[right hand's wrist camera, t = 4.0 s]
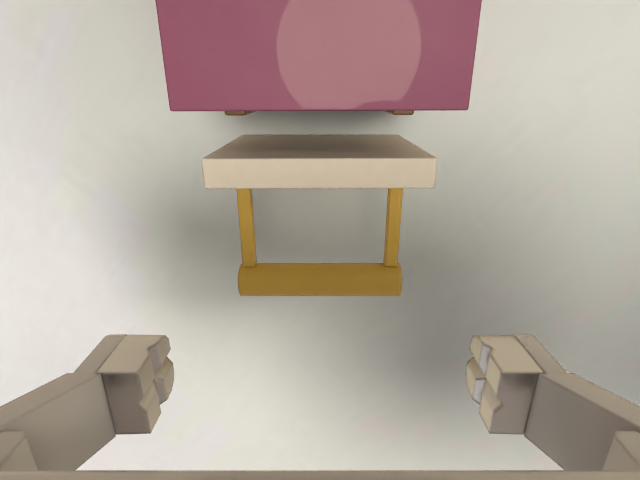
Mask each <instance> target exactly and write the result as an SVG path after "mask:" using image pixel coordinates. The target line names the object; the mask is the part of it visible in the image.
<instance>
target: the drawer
mask: <svg viewBox="0 0 640 480" xmlns="http://www.w3.org/2000/svg"><path fill="white" fill-rule="evenodd" d="M383 111H385V112H388V113H391V114H394V115H412V114H413V113H414V110H383ZM252 112H255V111H225V114H226V115H246V114H249V113H252ZM436 165H437V158H436V157H434V156H432V155H431V154H429V153H427V152H426V151H424V150H422V149H421V148H419V147H417V146H416V145H414V144H412V143H411V142H409V141H407V140H406V139H404V138H403V137H401V136H399V135H242V136H240V137H239V138H237V139H235V140H234V141H232V142H230V143H228V144H227V145H225V146H223V147H222V148H220V149H218V150H216V151H215V152H213V153H211V154H210V155H208V156H206V157H204V158H203V159H202V167H203V176H204V185H205V188H206V189H237V199H238V211H239V224H240V236H241V249H242V261H243V263H242V264H241V265H240V268H239V273H238V289H239V293H240V295H241V296H399V295H400V294H401V290H402V271H401V267H400V264H398V263H397V262H398V248H399V234H400V221H401V207H402V193H403V188H434V185H435V175H436ZM277 188H388V198H387V214H386V231H385V248H384V263H256V262H257V261H256V245H255V230H254V215H253V200H252V189H277Z"/></svg>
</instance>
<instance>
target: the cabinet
mask: <svg viewBox="0 0 640 480" xmlns="http://www.w3.org/2000/svg"><path fill="white" fill-rule="evenodd" d="M481 1H482V0H156V7H157V15H158V22H159V30H160V37H161V45H162V53H163V60H164V68H165V75H166V83H167V91H168V98H169V106H170V110H171V111H372V110H468V107H469V98H470V90H471V82H472V74H473V66H474V58H475V50H476V42H477V34H478V26H479V18H480V9H481Z"/></svg>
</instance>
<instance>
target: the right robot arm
mask: <svg viewBox="0 0 640 480" xmlns="http://www.w3.org/2000/svg"><path fill="white" fill-rule="evenodd" d="M170 349H171V348H170V343H169V338H168V337H166V336H165V335H126V334H121V335H108V336H105V337H104V339H103V340H102V341H101V342H100V343H99V344H98V345H97V347H96V348H95V349H94V350H93V351H92V352H91V353H90V354H89V356H88V357H87V358H86V359H85V360H84V361H83V362H82V364H81V365H80V366H79V367H78V368H77V369H76V370H75V372H74V373H67V374H65V375H63V376H61V377H59V378H57V379H55V380H53V381H51V382H49V383H47V384H45V385H43V386H41V387H39V388H37V389H35V390H33V391H31V392H29V393H27V394H25V395H23V396H21V397H19V398H17V399H15V400H13V401H11V402H9V403H7V404H5V405H3V406H1V407H0V480H640V407H639V406H637V405H635V404H633V403H631V402H629V401H627V400H625V399H623V398H621V397H619V396H617V395H615V394H613V393H611V392H609V391H607V390H605V389H603V388H601V387H599V386H597V385H595V384H593V383H591V382H589V381H587V380H585V379H583V378H581V377H579V376H577V375H575V374H573V373H566V372H565V370H564V369H563V368H562V367H561V366H560V365H559V364H558V362H557V361H556V360H555V359H554V358H553V357H552V356H551V355H550V353H549V352H548V351H547V350H546V349H545V348H544V347H543V345H542V344H541V343H540V342H539V341H538V340H537V339H536V337H535V336H533V335H530V334H522V335H495V336H473V337H472V339H471V342H470V348H469V349H470V351H471V353H472V355H473V357H472V358H471V360H470V361H469V362H468V363H467V368H466V381H467V387H468V390H469V393H470V395H471V397H472V399H473V400H474V401H476V402H477V403H478V404H480V409H479V414H480V416H481V418H482V420H483V422H484V424H485V426H486V428H487V430H488V432H489V433H492V434H525V435H524V436H525V437H526V438H527V439H528V440H530V441H531V442H532V443H533V444H534V445H536V446H537V447H538V448H539V449H540V450H541V451H543V452H544V453H545V454H546V455H547V456H549V457H550V458H551V459H552V460H553V461H555V462H556V463H557V464H558V465H559V466H560V467H562V468H563V469H564V470H552V471H463V470H344V471H77V470H76V469H77V468H78V467H80V466H81V465H82V464H83V463H84V462H86V461H87V460H88V459H89V458H90V457H92V456H93V455H94V454H95V453H96V452H98V451H99V450H100V449H101V448H102V447H103V446H105V445H106V444H107V443H108V442H109V441H111V440H112V439H113V438H114V437H115V436H116V435H115V434H147V433H151V432H152V430H153V428H154V426H155V424H156V422H157V420H158V418H159V416H160V414H161V409H160V404H162V403H163V402H164V401H166V400H167V399H168V397H169V395H170V393H171V391H172V386H173V382H174V367H173V363H172V362H171V361H170V360H169V359H168V357H167V355H168V353H169V351H170Z"/></svg>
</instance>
